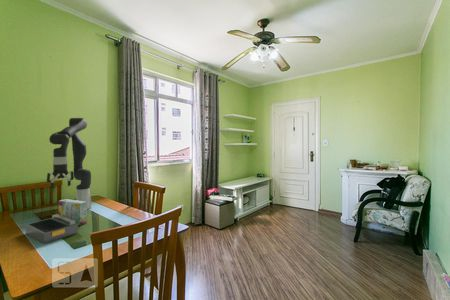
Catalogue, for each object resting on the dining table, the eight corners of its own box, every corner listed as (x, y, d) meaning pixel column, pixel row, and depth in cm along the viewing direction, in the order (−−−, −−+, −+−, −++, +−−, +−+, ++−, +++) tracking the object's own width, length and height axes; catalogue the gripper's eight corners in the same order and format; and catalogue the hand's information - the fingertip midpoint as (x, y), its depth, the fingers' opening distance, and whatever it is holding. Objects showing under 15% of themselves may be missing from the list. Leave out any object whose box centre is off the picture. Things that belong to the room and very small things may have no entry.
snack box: (87, 223, 143) (87, 201, 143) (79, 226, 138) (79, 203, 138) (66, 219, 150) (65, 198, 150) (57, 221, 145) (57, 200, 145)
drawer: (58, 224, 140) (58, 213, 140) (78, 233, 127) (78, 220, 127) (26, 233, 126) (25, 221, 126) (44, 244, 113) (44, 230, 113)
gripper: (71, 162, 149) (72, 184, 149) (45, 163, 138) (46, 188, 139) (74, 163, 144) (74, 186, 144) (47, 164, 133) (48, 189, 134)
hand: (60, 187), depth 142 cm, fingers open, 8 cm apart
